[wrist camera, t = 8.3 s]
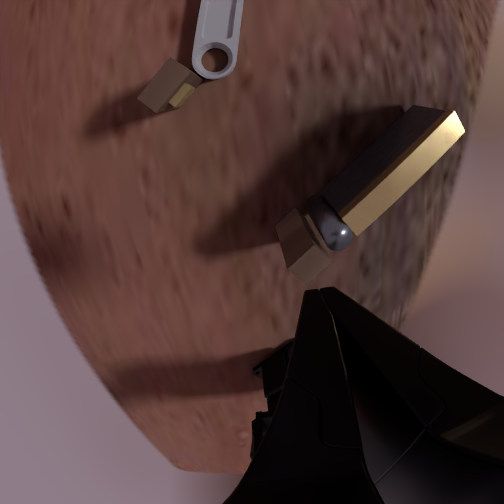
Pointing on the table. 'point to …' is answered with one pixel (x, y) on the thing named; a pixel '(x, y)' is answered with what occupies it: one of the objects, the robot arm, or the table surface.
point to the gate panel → (382, 173)
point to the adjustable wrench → (217, 33)
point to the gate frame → (292, 225)
